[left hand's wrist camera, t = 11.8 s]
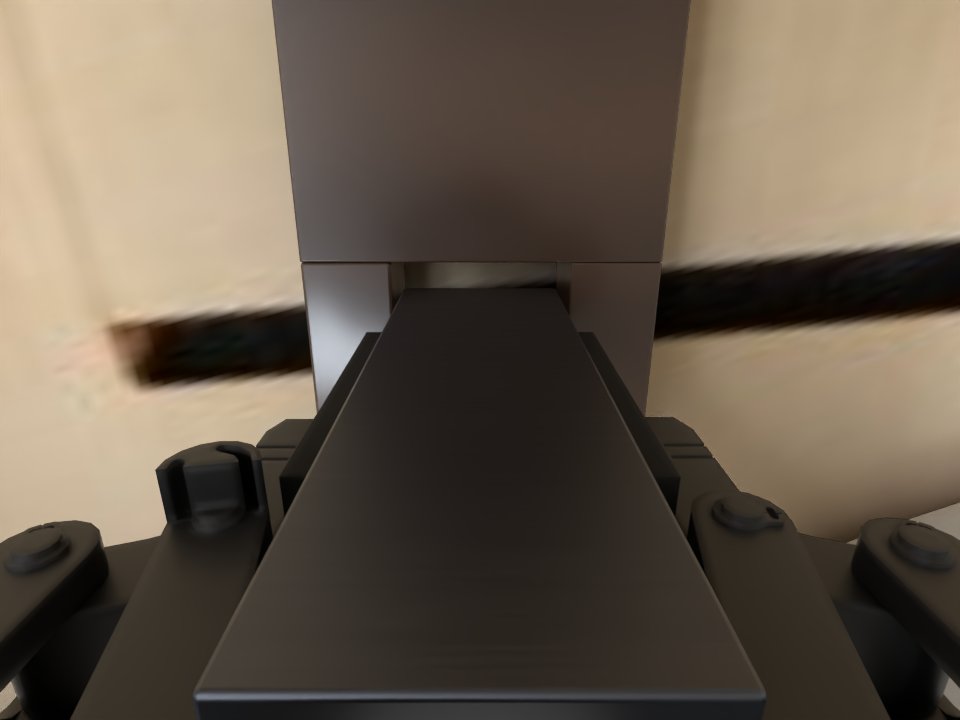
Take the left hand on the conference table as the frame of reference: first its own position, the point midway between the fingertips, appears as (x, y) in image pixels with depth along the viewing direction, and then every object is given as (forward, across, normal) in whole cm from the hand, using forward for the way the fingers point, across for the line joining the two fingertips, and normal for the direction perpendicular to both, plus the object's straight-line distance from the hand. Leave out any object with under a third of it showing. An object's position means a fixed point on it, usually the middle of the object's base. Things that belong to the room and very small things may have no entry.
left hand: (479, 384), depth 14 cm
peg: (+2, 0, 0) cm, 2 cm away
